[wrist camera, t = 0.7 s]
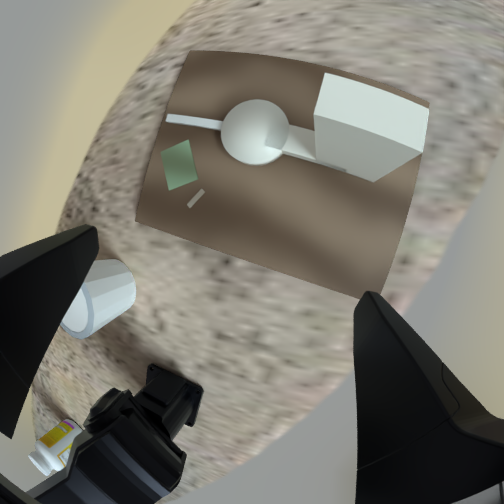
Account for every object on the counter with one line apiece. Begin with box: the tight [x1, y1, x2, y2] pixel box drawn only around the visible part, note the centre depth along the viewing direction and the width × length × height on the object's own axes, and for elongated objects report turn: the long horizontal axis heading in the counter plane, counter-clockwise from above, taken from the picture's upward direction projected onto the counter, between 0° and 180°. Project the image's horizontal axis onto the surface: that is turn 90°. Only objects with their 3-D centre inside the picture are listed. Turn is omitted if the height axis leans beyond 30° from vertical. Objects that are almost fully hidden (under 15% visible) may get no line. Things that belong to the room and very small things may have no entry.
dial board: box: [135, 51, 429, 299], centre depth 20 cm, size 17×22×1 cm
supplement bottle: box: [28, 419, 83, 476], centre depth 28 cm, size 7×7×13 cm
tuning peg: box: [166, 73, 429, 182], centre depth 15 cm, size 5×17×10 cm, turn 73°
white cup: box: [60, 259, 136, 339], centre depth 23 cm, size 7×7×7 cm
